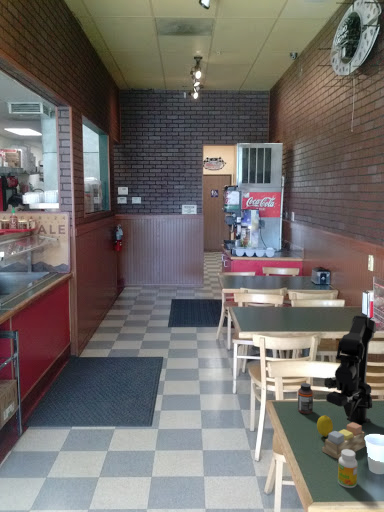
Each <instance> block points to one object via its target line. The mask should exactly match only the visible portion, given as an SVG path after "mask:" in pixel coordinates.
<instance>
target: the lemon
mask: <svg viewBox="0 0 384 512" xmlns="http://www.w3.org/2000/svg"><path fill="white" fill-rule="evenodd" d="M333 425H334V424H333V421H332V419H331V417H329V416H327V415H326V414H325V415H321V416H320V417H319V418H318V419H317V422H316V429H317V431H318V433H319V434H320V435H321V436H323V437H324V438H325V437H327V436H328V434H329V433H331V432H333V431H334V430H333V429H334V426H333Z"/></svg>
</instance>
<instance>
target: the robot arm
mask: <svg viewBox="0 0 384 512" xmlns="http://www.w3.org/2000/svg"><path fill="white" fill-rule="evenodd" d="M353 316H354V317H353V318H352V320H351V326H350V329H349V331H348V333H346V334H343V336H342V337H341V339H339V341H338V346H337V353H336V357H335V359H336V361H337V360H338V361H340V364H339V365H338V366H337V368H336V369H335V371H334V376H331V377H326V378H324V383H323V385H324V386H325V388H328V390H331V389H336V390H337V391H335V390H334V391H331V392H329V393H327V394H326V397H325V399H326V402H328V403H330V404H331V405H335V406H338V407H343V409H344V412H345V415H346V420H348V421H350V422H351V423H352V422H353V423H356V424H358V425H361V426H363V425H364V424H366V423H369V422H370V421H371V419H370V418H368V410H370V409H373V406H374V405H373V397H372V394H371V393H372V387H371V385H370V384H368V383H367V371H368V370H367V369H368V359H369V348H370V347H369V344H370V343H371V341H372V340H373V338H374V337H375V333H376V331H377V323H376V322H375V320H372V319H371V318H369V316H366V315H358V314H357V315H353ZM338 391H339V392H338Z"/></svg>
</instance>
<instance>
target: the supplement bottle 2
mask: <svg viewBox="0 0 384 512" xmlns="http://www.w3.org/2000/svg"><path fill="white" fill-rule="evenodd" d="M337 467H338V469H337V483H338V484H339V486H341V487H344V488H348V489H352V488H355V487H356V486H357V482H358V480H357V478H358V461H357V459H356V452H354V451H352V450H349V449H344V450H342V451H341V457H340V458H339V460H338V466H337Z"/></svg>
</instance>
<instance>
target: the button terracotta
mask: <svg viewBox="0 0 384 512" xmlns="http://www.w3.org/2000/svg"><path fill="white" fill-rule="evenodd" d="M362 427H363V425H359V424H357V423H355V422H352V421H351V422H350V423H347V424H346V429H345V430H347V431H349V432H352V433H353V435H355V436H356V435H358V434H360V433H361V431H363V430H362Z"/></svg>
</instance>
